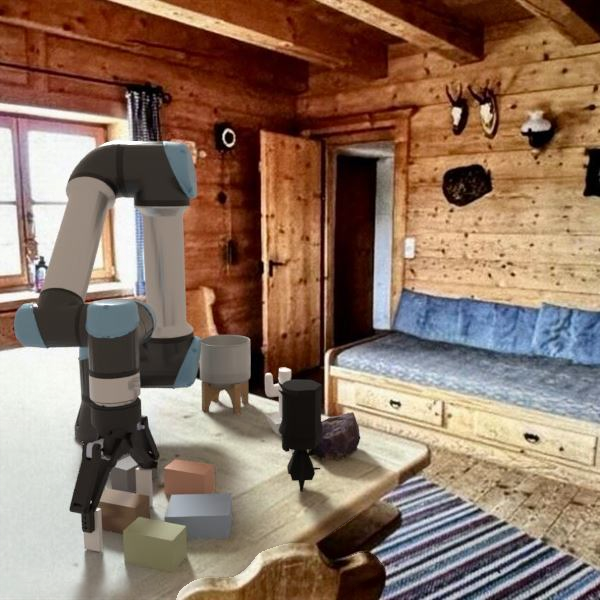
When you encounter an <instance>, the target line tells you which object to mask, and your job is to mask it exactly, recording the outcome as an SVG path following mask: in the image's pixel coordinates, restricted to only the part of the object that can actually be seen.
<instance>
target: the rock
mask: <svg viewBox="0 0 600 600" xmlns="http://www.w3.org/2000/svg"><path fill="white" fill-rule="evenodd" d="M321 422H322V428H323V431H322V437H321V442H320V444H319V445H318V447H319V448H320V449H321V450H322V451H323V452H324V453H326V454H327V455H326V454H325V455H326V456H325V455H324V456H325V458H323V457H322V460H327V459H334V460H338V461H341V460H344V459H345V460H346V459H347V458H348V457H350V456H351V455H352V454H353V453H354V452H357V450H358V446H359V443H360V440H361V435H360V428H359V427H360V425H359V424H358V421H357V419H356V416H355V413H354V412H352V411H351V412H346V413H343V414H341V415H340V414H339V415H336V416H330V417H328V418H327V419H324V420H321ZM311 450H312V449H308V450H307V451H308V453H309V452H310V451H311ZM312 457H313V458H314V459H317V460H321V459H320V458H319V457H318V456H317V455H313V456H312Z"/></svg>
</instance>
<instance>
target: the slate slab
mask: <svg viewBox="0 0 600 600" xmlns="http://www.w3.org/2000/svg"><path fill="white" fill-rule="evenodd" d="M232 516H233V492H232V493H230V492H229V493H212V494H181V495H170V499H169V501H168V505H167V508H166V511H165V514H164V521H163V522H168V523H173V524H179V525H184V526H186V532H187V539H218V538H221V539H222V538H223V539H225V538H230V537H231V528H232V520H233V519H232Z"/></svg>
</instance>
